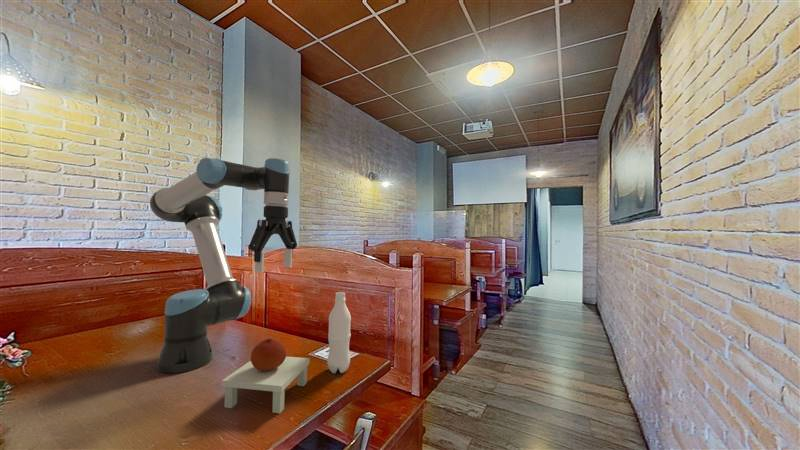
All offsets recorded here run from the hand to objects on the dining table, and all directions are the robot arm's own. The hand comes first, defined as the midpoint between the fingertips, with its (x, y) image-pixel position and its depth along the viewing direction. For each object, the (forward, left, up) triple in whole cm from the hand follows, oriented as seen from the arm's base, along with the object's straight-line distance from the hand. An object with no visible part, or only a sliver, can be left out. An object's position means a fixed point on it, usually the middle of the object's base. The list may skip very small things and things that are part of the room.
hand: (274, 269), depth 99 cm
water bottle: (+22, +5, -32) cm, 39 cm away
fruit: (+11, -14, -25) cm, 31 cm away
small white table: (+11, -14, -32) cm, 36 cm away
